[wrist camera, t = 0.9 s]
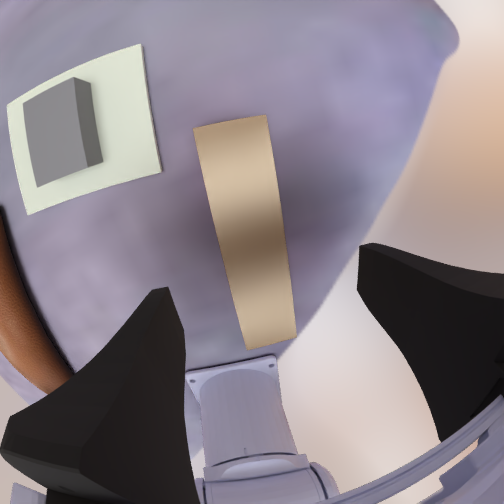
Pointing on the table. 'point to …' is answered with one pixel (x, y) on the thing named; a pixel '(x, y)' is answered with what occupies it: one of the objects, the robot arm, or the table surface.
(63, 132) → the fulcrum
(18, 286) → the sunglasses case
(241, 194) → the beige piece
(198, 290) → the table surface
